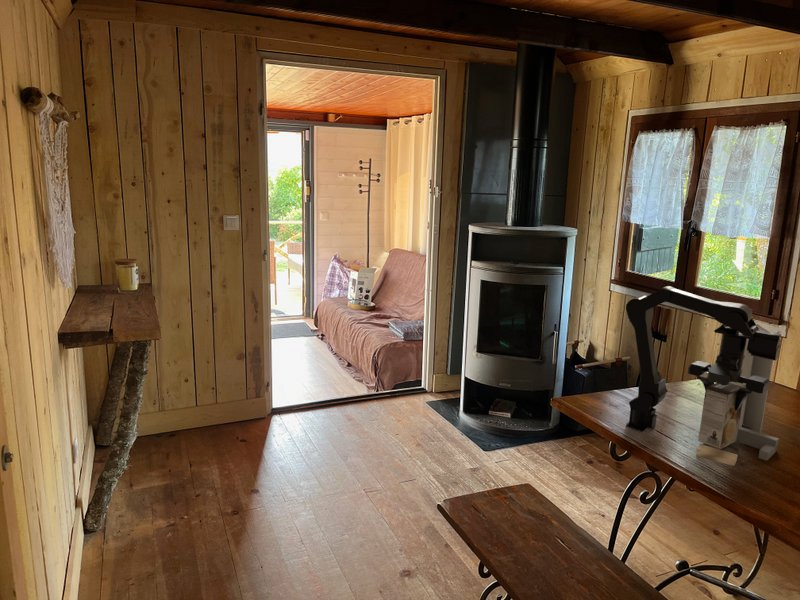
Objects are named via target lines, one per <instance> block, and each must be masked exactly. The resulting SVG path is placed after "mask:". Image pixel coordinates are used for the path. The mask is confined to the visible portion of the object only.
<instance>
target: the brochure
mask: <svg viewBox="0 0 800 600" xmlns="http://www.w3.org/2000/svg"><path fill="white" fill-rule="evenodd" d="M756 325H757V327H758V328H759V330H758V331H762V332H767V333H772V331H770V330H769V329H767V328H765V327H764V326H762V325H761V324H760V323H756ZM748 341H749V339H747V341H746V347H745V352H744V355H745V358H744V359H743V364H742V373H741V375H740V376H744V377H748V378H750V377H752V376H753V375H756V376H760V377H764V378H767V379H769V381H770V380H771V374H772V370H773V363H774V360H770V359H765V358H760V357H756V356H751V353H749V351H747V345H748ZM770 382H771V381H770ZM729 383H732V384H735V385H738V386H742V387H743V384H742V383H738V382H729ZM768 392H769V389H768V390H767V391H765V392H764V393H756V392H753V393H749V394H748V396H747V397H746V398H745V400H744V401H743V403H742V409H741V416H740V422H739V426H740V427H743V426H744V425H745V426H744V427H745V428H747V427H748V428H747V429H750V430H753V431H756V432H759V433H762V427H763V422H764V418H765V417H764V416H765V411H766V404H767V399H768ZM742 424H743V425H742Z"/></svg>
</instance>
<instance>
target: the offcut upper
mask: <svg viewBox="0 0 800 600" xmlns="http://www.w3.org/2000/svg"><path fill="white" fill-rule="evenodd" d="M695 455H696V456H698V457H701V458H704V459H708V460H712V461H715V462H719V463H722V464H725V465H729V466H733V467H735V465H736V462H737V460H738V457H739V456H738V453H737V454H736V453H732V452H729V451H726V450H723V449H717V448H715V447H712V446H710V445H706V444H703V443H702V444H701V443H699V445H698V446H697V448H696V452H695Z"/></svg>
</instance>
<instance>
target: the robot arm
mask: <svg viewBox="0 0 800 600" xmlns="http://www.w3.org/2000/svg"><path fill="white" fill-rule="evenodd" d="M663 303H668V304H669V303H670V304H671V305H675V306H678V307H680V308H681V307H682V308H685V309H687V310H689V311H693V312H697V313H700V314H703V315H706V316H709V317H711V318H712V319H714V320H715V321H717V322H718V323H720V324H721V325H720V326H718V327H717V328H715V329H714V330H713V332H714V333H716V334H721V341H720V348H719V352H718V354H717V356H716V359H715V361H714V363H713V364H711V363H709V362H707V361H706V362H705V361H701V360H697V361H694V362H692V363H691V364H689V366H688V367H687V368H688V369H687V374H688V375H691V376H696V378H697V380H700V382H701V383H702V385H703V388H704V389H705V391H706V387H708V386H710V385H713V384H715V383H719V384H721V385H728V384H729V382H738V383H742V384H743V387H741V388H740V389H739V395H738V399H737V402H736V406H735V410H736V411H737V410H738V409H739V407H740V406H741V404H742V403H743V401H744V400H745V398H746V397H747V396H748V394H749V393H753V392H756V393H764V392H765V391H767V390H768V391H769V389H770V386H771V381H769V379H767V378H764V377H760V376H756V375H753V376H752V377H750V378H748V377H744V376H740V375H741V373H742V364H743V359H744V358H745V355H744V352H745V347H746V341H747V339H749V341H748V345H747V351H749V353H751V356H756V357H760V358H765V359H770V360H773V361H777V360H778V358H779V355H780V352H781V351H780V350H781V346H782V345H781V333H777V332H774V333H773V332H771V333H767V332H762V331H758V330H759V328H758V327H757V323H756V322H755V320H754V318H753V311H752V309H751V308H750V306H749V305H746V304H744V303H738V302H730V301H719V300H714V299H710V298H708V297H704V296H700V295H698V294H695V293H694V294H693V293H691V292H688V291H684V290H681V289H679V288H678V289H677V288H675V287H673V286H670V285H667V286H664V287H661V288H660V289H659V290H657V291H655V292H653V293H651V294H649V295H639V296H636V297H633V298H632V299H630V300H628V302H627V303H626V305H625V311H626V315H627V318H628V320H629V322H630V324H631V326H632V328H633V329H634V335H635V336H634V337H635V342H636V350H637V355H638V356H637V358H638V363H639V371H640V372H639V373H640V379H639V384H638V390H637V393H638V394H637V396H636V397H634V398H633V399H632V400H630V401H629V402H628V404H629V405H628V406H629V408H630V411H629V418H628V419H629V420H628V422H626V424H625V425H626V427H630V428H632V429H635V430H638V431H641V432H644V431H645V430H647V429H652V428H655V427H656V425H657V417H658V416H657V409H656V408H655V407H656V406H658V405H659V404H660V403H662V401H664V399H665V398H666V396H667V395H666V394H667V393H668V391H669V390H668V388H667V385H666V384H667V379H666V378H661V377H660V375H659V374H658V367H657V362H656V355H655V353H656V352H655V348H654V347H655V345H654V340H653V332H652V323H653V320H654V319H653V318H654V308H655V307H657V306H659V305H661V304H663Z"/></svg>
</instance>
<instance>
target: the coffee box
mask: <svg viewBox="0 0 800 600" xmlns="http://www.w3.org/2000/svg"><path fill="white" fill-rule="evenodd" d="M741 387H742V386H738V385H735V384H732V383H729V384H728V385H721V384H719V383H715V382H714V384H713V385H710V386H708V387H706V391H705V392H704V397H703V398H704V399H703V405H702V412H701V413H702V414H701V418H700V427H699V432H698V439H697V440H698V442H700V443H702V444H704V445H706V446H709V447H712V448H716V449H719V450H723V449H724V448H726V447H728V446H730V445H732V444H733V443H736V442H737V441H736V440H737V434H738V428H739V422H740V416H741V409H742V404H741V406H740V407H739V409H738V410H737V411H736V410H735V406H736V402H737V399H738V395H739V389H740V388H741Z"/></svg>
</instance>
